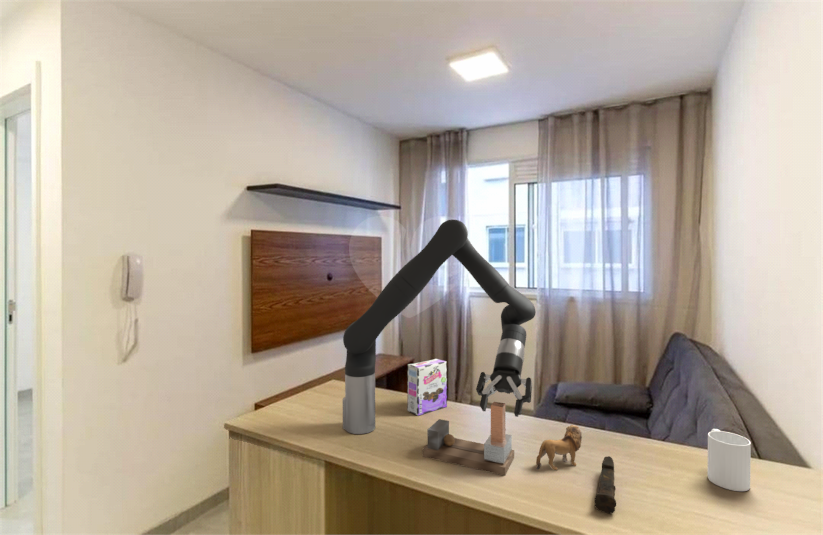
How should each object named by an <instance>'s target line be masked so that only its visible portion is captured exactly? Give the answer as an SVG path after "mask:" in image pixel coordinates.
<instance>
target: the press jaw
mask: <svg viewBox="0 0 823 535" xmlns="http://www.w3.org/2000/svg"><path fill="white" fill-rule="evenodd" d="M483 444H484V460H488V461H493V462H497V463H502V464H504V463H505V461H506V460H507V458H508V456H509V454H510V452H511V450H513V449H512V448H513V447H512V446H513V445H512V444H513V442H512V434H509V433H506V403H505V402H504V403H503V402H499V401H493V402H492V403H491V404H490V435H489V436H488V438H486V440H485V442H484V443H483Z"/></svg>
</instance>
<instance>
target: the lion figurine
mask: <svg viewBox="0 0 823 535" xmlns="http://www.w3.org/2000/svg"><path fill="white" fill-rule="evenodd" d="M565 430H566V431H565V433H564V436H563V438H561V439H555V440H554V439H545V440H544V441H542V443H541V444H540V447H539V452H538V455H537V456H536V462H535V465H536V467H535V468H536V470H539V469H540V468H541V467H542V463H541V459H542V458H543V457H544V456H545V455H546V456H547V457H548V465H549V466H550V468H551V470H552V471H558V467H557V466H555V465H554V460H555V457H556V455H557V456H562V457H561V458H562V459H561V460H562V461H563V462H564V463H565V462H568V458H567V454H569V455H570V464H571V466H574V467H576V466H577V463H576V462H575V460H576V455H577V454H576V453H577V452H578V451H579V450H580V449H581V446H582V445H581V444H582V440H583V436H582V435H583V432H582V431H581V429H580V428H579V426H578V425H574V424H570V425H569V426H567V427H566V429H565Z"/></svg>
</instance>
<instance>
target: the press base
mask: <svg viewBox="0 0 823 535" xmlns="http://www.w3.org/2000/svg"><path fill="white" fill-rule="evenodd" d="M447 434H450V421H449V420H445V419H441V418H439V419H438V420H436V421H435V422H434V423H433V424H432V425H430V426H429V428H428V429H427V444H426V445H425V446H424V447H423V448H422V457H423V458H427V459H430V460H431V459H432V460H436V461H440V462H444V463H449V464H453V465H456V466H457V465H458V466H462V467H466V468H470V469H475V470H478V471H482V472H483V471H484V472H487V473H492V474H495V475H501V476H505V477H506V475H507V473H508V471H509V470H510V468H511V465H512V464H513V462H514V459H515V449H512V450H511V452H510V454H509V456H508V458H507V460H506V461H505V463H504V464H502V463H497V462H493V461H488V460H484V443H481V442H475V441H471V440H465V439H461V438H456V437H454V439H455V442H454V444H453V445H452V446H447V445H446V444H445V443H444V437H445V435H447Z"/></svg>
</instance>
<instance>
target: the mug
mask: <svg viewBox="0 0 823 535" xmlns="http://www.w3.org/2000/svg"><path fill="white" fill-rule="evenodd" d="M751 445H752V443H751V441H750V439H748V438H747V437H745V436H744V435H743V436H742V435H739V434H737V433H734V432H729V431H723V430H720V429H718V428H712V429H711V431H709V432H708V433H707V478H708V480H709V481H710V482H711V483H712V484H714V485H716V486H718V487H720V488H723V489H725V490H728V491H729V490H730V491H735V492H746V491H749V490H750V489H751V454H752V453H751V452H752V451H751V450H752V449H751V448H752V447H751Z"/></svg>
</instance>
